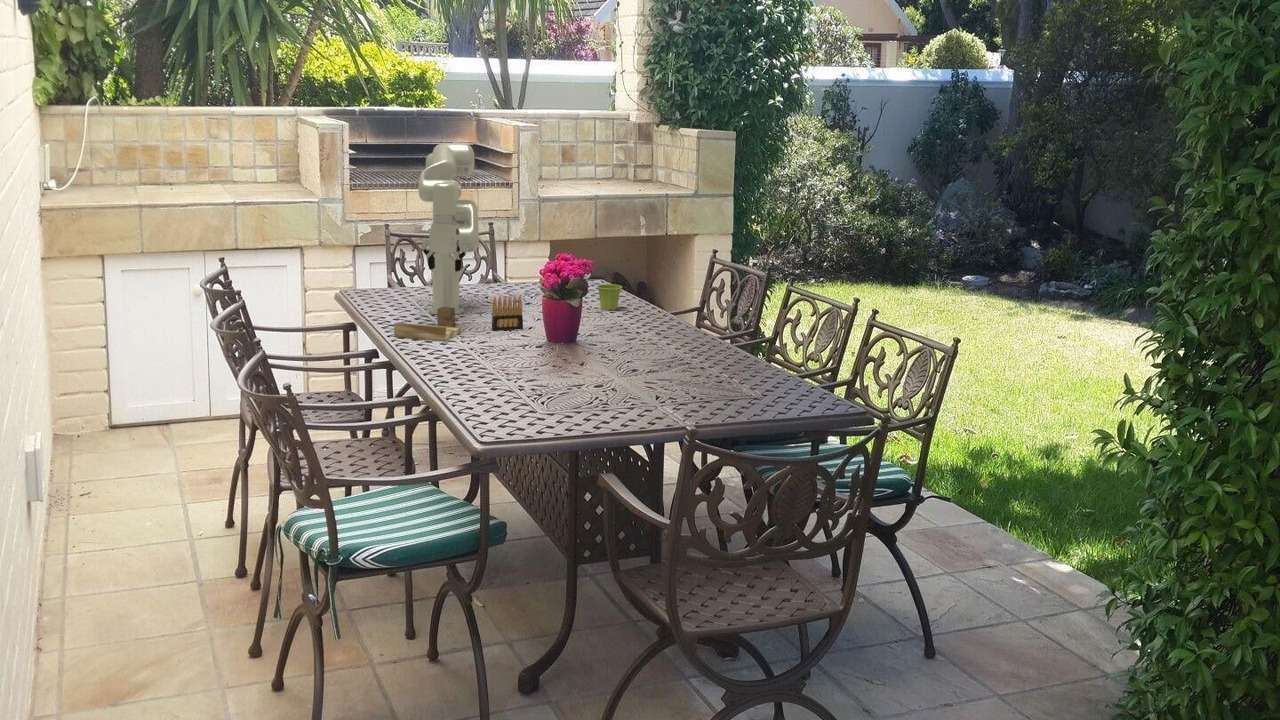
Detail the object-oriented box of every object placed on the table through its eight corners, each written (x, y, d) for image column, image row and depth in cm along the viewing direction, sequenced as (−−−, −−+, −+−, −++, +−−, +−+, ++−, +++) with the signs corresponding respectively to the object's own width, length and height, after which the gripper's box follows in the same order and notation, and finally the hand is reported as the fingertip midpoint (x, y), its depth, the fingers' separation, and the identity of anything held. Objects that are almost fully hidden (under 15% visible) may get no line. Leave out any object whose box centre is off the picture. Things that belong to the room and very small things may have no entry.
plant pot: (626, 308, 479) (626, 286, 477) (612, 312, 471) (612, 289, 469) (605, 305, 484) (606, 283, 482) (591, 309, 476) (592, 286, 474)
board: (411, 329, 434) (411, 316, 433) (460, 333, 429) (460, 320, 428) (394, 336, 422) (394, 323, 421) (444, 341, 417) (444, 327, 416)
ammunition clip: (521, 328, 440) (521, 294, 437) (523, 329, 438) (523, 295, 436) (491, 329, 436) (491, 295, 434) (492, 331, 435) (492, 296, 432)
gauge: (451, 323, 446) (451, 303, 445) (463, 323, 445) (463, 304, 443) (437, 329, 436) (437, 309, 434) (449, 330, 434) (449, 310, 433)
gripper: (472, 219, 429) (472, 270, 433) (425, 216, 434) (426, 266, 438) (463, 222, 422) (463, 273, 426) (415, 219, 427) (416, 269, 431)
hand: (444, 269), depth 432 cm, fingers open, 9 cm apart
